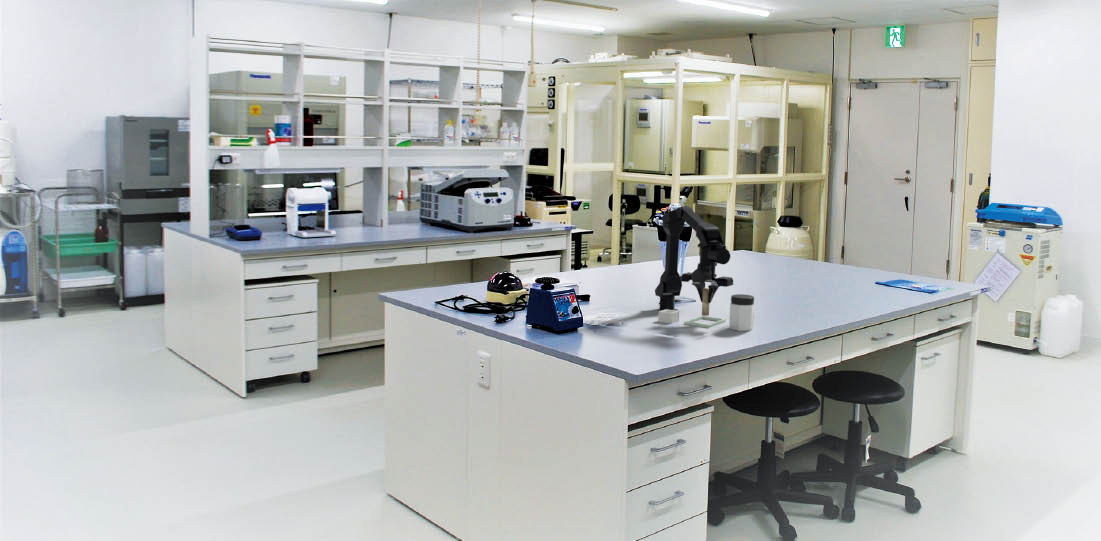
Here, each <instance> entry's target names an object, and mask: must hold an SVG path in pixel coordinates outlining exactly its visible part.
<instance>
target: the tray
mask: <svg viewBox="0 0 1101 541" xmlns="http://www.w3.org/2000/svg"><path fill="white" fill-rule="evenodd" d="M700 320H701V321H702V320H706V321H707V320H708V321H714V322H712V323H708V324H707V323H700V322H697V321H700ZM726 322H727V319H726V318H720V317H715V316H714V317H713V316H703V315H700V316H697V317H694V318H690V319H688V320H685V321H684V322H683V325H686V326H687V325H688V326H691V327H699V328H706V329H710V328H713V327H716V326H719V325H721V324H724V323H726Z"/></svg>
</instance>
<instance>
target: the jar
mask: <svg viewBox="0 0 1101 541" xmlns="http://www.w3.org/2000/svg"><path fill="white" fill-rule="evenodd" d="M754 319H755V296H754V295H751V294H741V293H740V294H737V293H736V294H732V295H731V297H730V305H729V324H728V326H729V327H728V328H729V330H733V331H738V332H751V331H752V330H753V329H754V323H755V322H754Z"/></svg>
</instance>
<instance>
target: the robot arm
mask: <svg viewBox="0 0 1101 541" xmlns="http://www.w3.org/2000/svg"><path fill="white" fill-rule="evenodd" d="M661 219H662V220H661V221H662V228H663V230H664V231H665V234H666V240H665V257H664V258H665V260H664V262H665V263H664V271H663V272H662V274H661V275H660V278H659V283H658V284H657V286H656V288H655V289H654V294H655V296H657V297H659V311H662V310H666V309H667V310H674V311H679V309H677V308H675V304H676V303H675V302H676V298H675V297H680V295H681V291H682V287H683V283H689V282H690V281H691V286H694V287H695V288H696V290H697V293H698V296H699V300H700V302H701V303H702V297H703V288H706V282H707V283H710V284H709V285H707V288H709V297H708V303H709V304H711V302H712V301H713V299H714V297H715V295H716V292H717V291H718V289H719V287H724V288H725V287H730V286H733V285H734V279H733V277H730V276H720V277H717V276H718V275H717V273H716V267H717V266H718V264H720V265H726V264H728V263H729V261H730V260H731V253H730V251H729V250H728V249H727V245H726V244H725V242H724V241H725V240H724V239H723V236H722V233H721V231H720V229H719V227H718V226H716V225H715V224H713V223H710V222H706V221H705V220H704V219H703V218H701V217H700V216H699V214H697V213H696V212H695V211H694V210H693V208H692V207H691V206H679V207H677V208H675V209H672V210H670V211H666V212H665V213H664V214H662V218H661ZM685 223H686V224H687V225H688V226H689V227H690V228H691V229H692V230H694V232H695V236H696V238H697V240H698V241H699V243H697V248H699V263H697V267H696V269H694V271H692V272H685V273H682V274H680V273H679V272H678V268H679V266H678V265H679V247H680V234H681V233H682V231H683V230H684V227H685Z"/></svg>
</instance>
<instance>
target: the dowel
mask: <svg viewBox="0 0 1101 541" xmlns="http://www.w3.org/2000/svg"><path fill="white" fill-rule="evenodd" d="M708 297H709V288H708V287H705V288H703V297H702V302H701V303H702V304H701V316H708V317H710V316H709V315H710V303H708Z"/></svg>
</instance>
